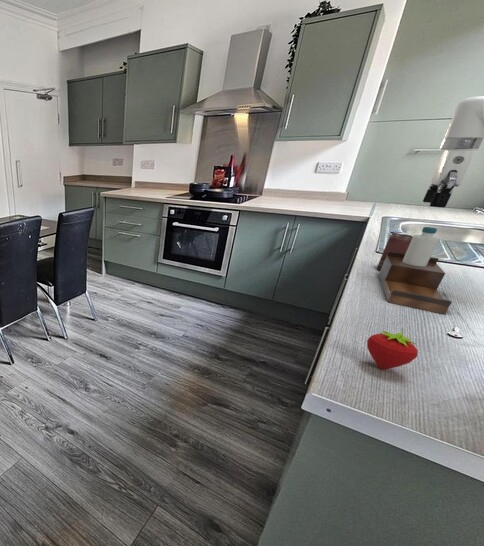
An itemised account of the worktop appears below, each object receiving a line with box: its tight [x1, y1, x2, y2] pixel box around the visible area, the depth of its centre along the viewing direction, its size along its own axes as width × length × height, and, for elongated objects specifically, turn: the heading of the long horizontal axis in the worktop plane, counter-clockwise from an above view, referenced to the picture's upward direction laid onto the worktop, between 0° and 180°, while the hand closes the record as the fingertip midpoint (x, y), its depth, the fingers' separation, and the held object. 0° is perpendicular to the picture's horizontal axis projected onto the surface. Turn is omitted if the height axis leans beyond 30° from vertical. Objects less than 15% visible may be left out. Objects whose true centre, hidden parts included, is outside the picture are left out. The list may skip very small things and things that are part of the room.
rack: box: [378, 251, 453, 315], centre depth 98 cm, size 12×26×10 cm, turn 142°
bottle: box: [402, 226, 440, 267], centre depth 100 cm, size 6×6×12 cm
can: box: [376, 232, 413, 272], centre depth 115 cm, size 6×6×14 cm
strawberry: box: [366, 327, 419, 371], centre depth 64 cm, size 6×8×10 cm
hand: (433, 204), depth 96 cm, fingers open, 9 cm apart
